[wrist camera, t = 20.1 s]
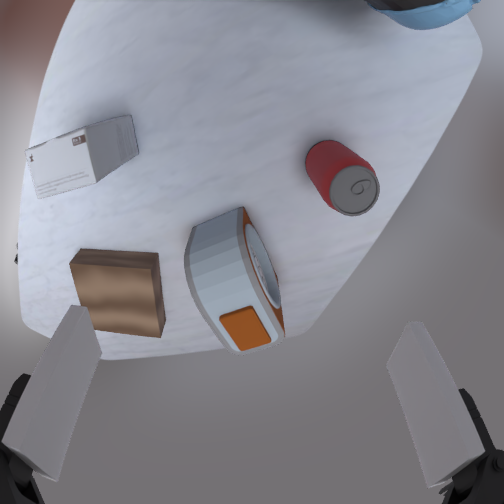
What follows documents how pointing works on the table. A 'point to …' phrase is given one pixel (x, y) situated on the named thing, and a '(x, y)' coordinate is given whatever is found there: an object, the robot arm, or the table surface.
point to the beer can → (342, 178)
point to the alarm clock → (234, 283)
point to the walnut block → (120, 290)
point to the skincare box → (81, 156)
